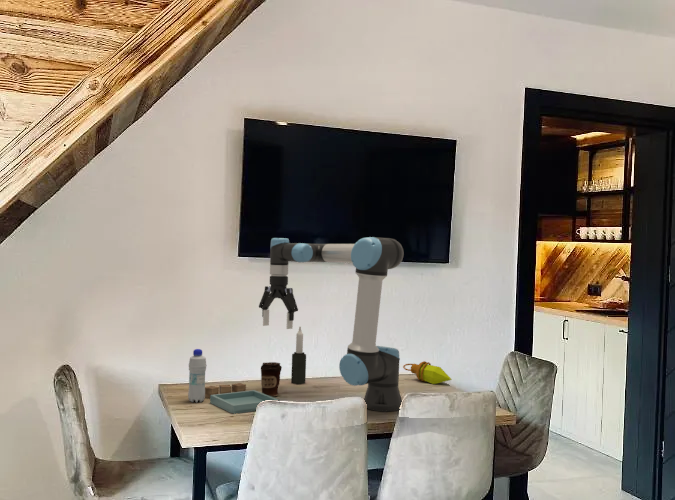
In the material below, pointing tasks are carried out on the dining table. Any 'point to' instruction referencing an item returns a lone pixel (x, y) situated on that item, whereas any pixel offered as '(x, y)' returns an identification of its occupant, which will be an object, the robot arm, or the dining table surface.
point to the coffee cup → (270, 378)
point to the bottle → (197, 376)
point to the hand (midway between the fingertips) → (277, 327)
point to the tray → (239, 401)
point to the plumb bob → (428, 373)
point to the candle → (298, 361)
